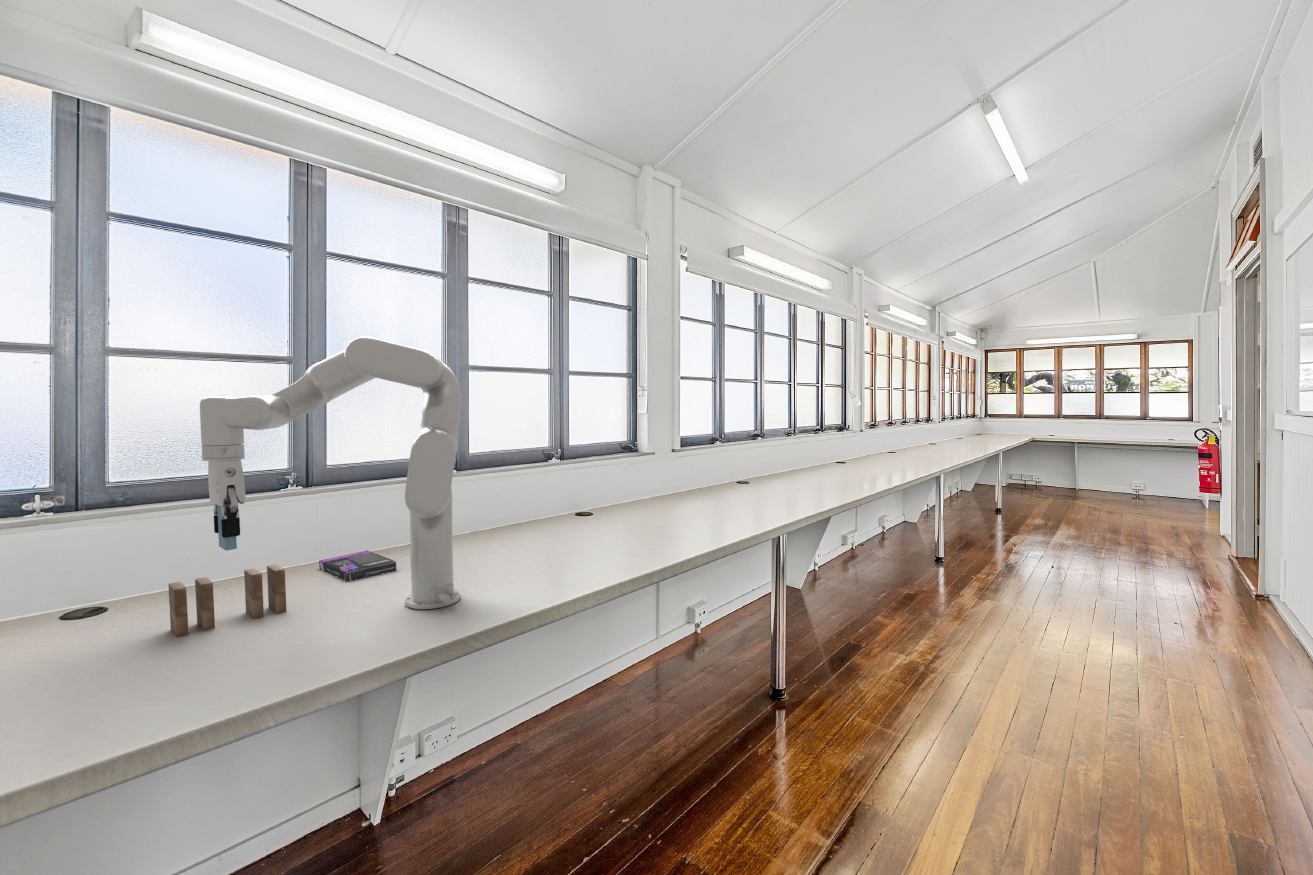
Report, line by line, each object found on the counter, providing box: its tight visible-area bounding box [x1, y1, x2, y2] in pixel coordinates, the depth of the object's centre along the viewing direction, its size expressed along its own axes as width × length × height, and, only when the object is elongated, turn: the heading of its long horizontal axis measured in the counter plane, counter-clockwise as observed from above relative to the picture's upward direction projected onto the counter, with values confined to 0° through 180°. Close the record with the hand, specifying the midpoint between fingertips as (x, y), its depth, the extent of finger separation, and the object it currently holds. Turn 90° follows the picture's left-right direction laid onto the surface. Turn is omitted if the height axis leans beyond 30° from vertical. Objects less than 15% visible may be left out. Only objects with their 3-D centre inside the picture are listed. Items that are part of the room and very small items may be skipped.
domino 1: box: [168, 581, 189, 638], centre depth 123 cm, size 2×6×10 cm, turn 48°
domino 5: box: [266, 563, 287, 615], centre depth 137 cm, size 2×6×10 cm, turn 48°
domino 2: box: [194, 576, 216, 632], centre depth 126 cm, size 2×6×10 cm, turn 48°
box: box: [318, 550, 397, 582], centre depth 169 cm, size 14×4×20 cm
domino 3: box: [217, 503, 238, 552], centre depth 129 cm, size 2×6×10 cm, turn 48°
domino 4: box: [243, 567, 265, 620], centre depth 133 cm, size 2×6×10 cm, turn 48°
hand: (227, 533), depth 129 cm, fingers closed on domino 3, 5 cm apart
